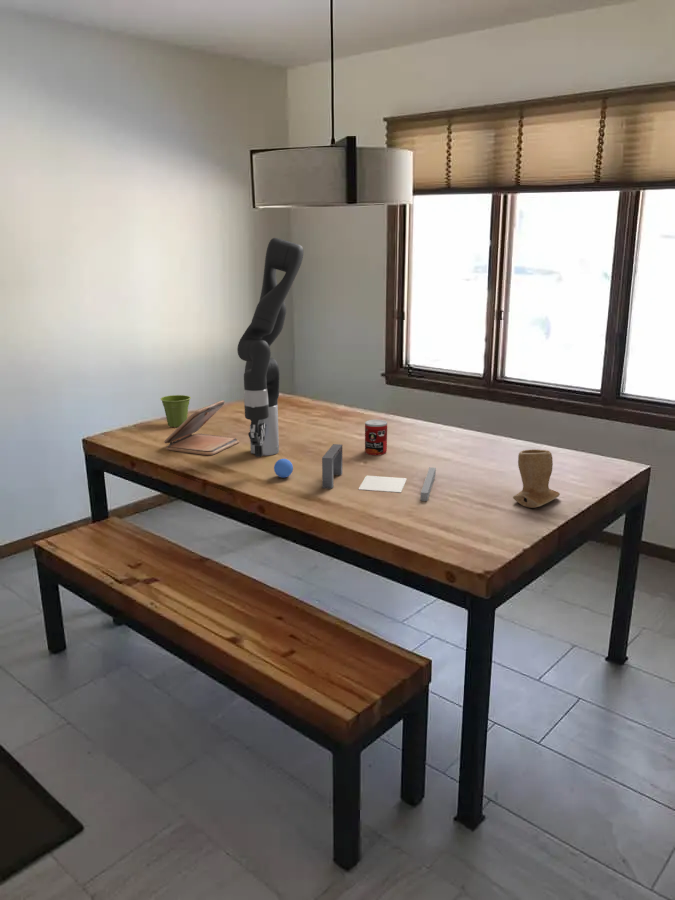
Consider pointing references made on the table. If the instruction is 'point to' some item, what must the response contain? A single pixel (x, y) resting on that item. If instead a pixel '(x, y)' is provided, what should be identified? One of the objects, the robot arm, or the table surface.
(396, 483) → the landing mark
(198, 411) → the case
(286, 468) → the ball
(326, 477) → the bridge
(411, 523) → the table surface
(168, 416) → the plant pot
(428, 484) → the wall
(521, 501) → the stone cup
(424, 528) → the table surface
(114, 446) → the table surface
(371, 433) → the canned food
